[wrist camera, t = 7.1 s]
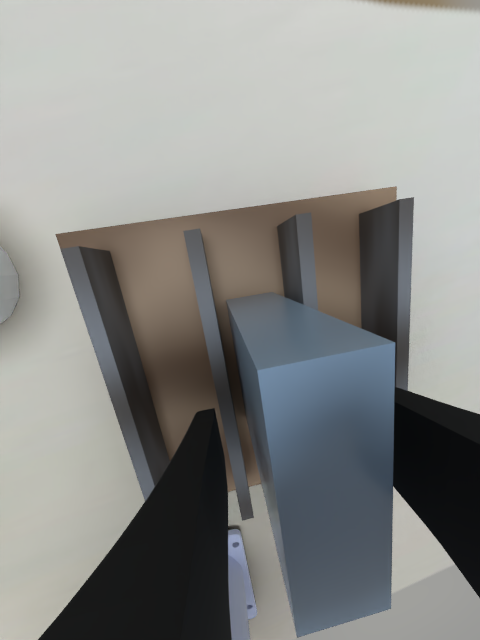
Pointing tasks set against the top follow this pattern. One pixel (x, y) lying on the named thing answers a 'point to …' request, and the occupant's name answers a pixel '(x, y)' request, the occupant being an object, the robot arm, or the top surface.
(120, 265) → the rack
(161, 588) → the robot arm
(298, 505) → the block
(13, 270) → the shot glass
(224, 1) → the top surface
